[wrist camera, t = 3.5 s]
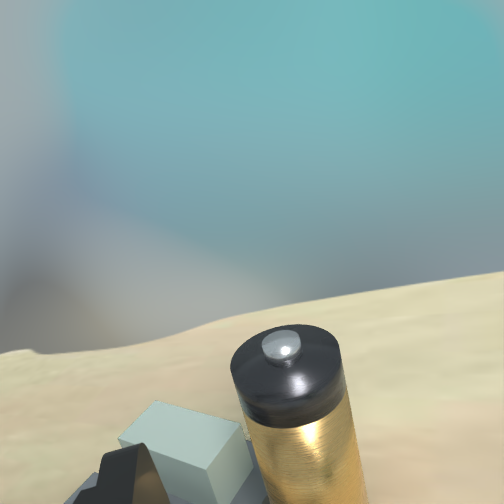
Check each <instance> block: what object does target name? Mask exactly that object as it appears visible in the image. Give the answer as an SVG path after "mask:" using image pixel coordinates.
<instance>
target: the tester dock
mask: <svg viewBox="0 0 504 504" xmlns="http://www.w3.org/2000/svg"><path fill="white" fill-rule="evenodd" d="M118 440H119V442H120V444H121V447H122V448H125V447H128V446H132V445H135V444H138V443H144V444H145V445H146V446H147V448H148V450H149V452H150V455H151V457H152V460H153V462H154V464H155V467H156V469H157V471H158V474H159V476H160V479H161V481H162V483H163V486H164V488H165V490H166V493H167V495H168V498H169V501H170V504H270V501H269V498H268V495H267V491H266V488H265V485H264V481H263V478H262V474H261V471H260V468H259V464H258V461H257V458H256V454H255V451H254V448H253V444H252V442H251V441H248V440H245V437H244V433H243V430H242V427H241V424H240V423H236V422H233V421H229V420H225V419H222V418H218V417H214V416H211V415H207V414H203V413H200V412H196V411H192V410H189V409H185V408H181V407H178V406H174V405H170V404H167V403H163V402H160V401H156V400H155V401H154V402H153V403H152V404H151V405H150V406H149V407H148V408H147V409H146V410H145V411H144V412H143V413H142V414H141V415H140V416H139V417H138V418H137V419H136V420H135V421H134V422H133V423H132V424H131V425H130V426H129V427H128V428H127V429H126V431H125V432H124V433H123V434H122V435H121V436H120V437H119V438H118ZM97 479H98V473H96V472H94V473H93V474H92V475H91V476H90V477H89V478H88V479H87V480H86V481H85V482H84V483H83V484H82V485H81V486H80V487H79V488H78V489H77V490H76V491H75V492H74V493H73V494H72V495H71V497H70V498H69V499H68V500H67V501H66V502H65V503H64V504H72V503H73V502H74V500H75V499H76V497H77V496H78V494H79V492H80V491H81V490H84V489H87V488H91V487H94V486H96V483H97Z"/></svg>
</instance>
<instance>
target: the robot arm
mask: <svg viewBox="0 0 504 504" xmlns="http://www.w3.org/2000/svg"><path fill="white" fill-rule="evenodd" d="M72 504H170V501H169V498H168V495H167V493H166V490H165V488H164V486H163V483H162V481H161V479H160V476H159V474H158V471H157V469H156V467H155V464H154V462H153V460H152V457H151V455H150V452H149V450H148V448H147V446H146V445H145V444H144V443H138V444H135V445H132V446H128V447H125V448H122V449H118V450H115V451H112V452H108V453H105V454H104V455H103V457H102V460H101V464H100V469H99V474H98V479H97V483H96V486H94V487H91V488H87V489H84V490H81V491H80V492H79V494H78V496H77V497H76V499H75V500H74V502H73V503H72Z"/></svg>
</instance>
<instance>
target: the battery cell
mask: <svg viewBox="0 0 504 504" xmlns="http://www.w3.org/2000/svg"><path fill="white" fill-rule="evenodd" d="M230 369H231V373H232V377H233V380H234V384H235V387H236V390H237V394H238V397H239V400H240V404H241V407H242V411H243V414H244V417H245V421H246V424H247V427H248V431H249V434H250V437H251V441H252V444H253V448H254V451H255V454H256V458H257V461H258V464H259V468H260V471H261V474H262V478H263V481H264V485H265V488H266V491H267V495H268V498H269V501H270V504H369V503H368V498H367V492H366V487H365V482H364V477H363V471H362V466H361V461H360V455H359V450H358V445H357V439H356V434H355V429H354V423H353V418H352V413H351V407H350V402H349V397H348V391H347V386H346V381H345V375H344V370H343V365H342V359H341V354H340V349H339V344H338V342H337V340H336V339H335V337H334V336H333V335H332V334H331V333H329V332H328V331H326V330H324V329H322V328H319V327H315V326H311V325H302V324H295V325H285V326H279V327H275V328H272V329H269V330H266V331H263V332H261V333H259V334H257V335H255V336H253V337H251V338H250V339H248V340H247V341H246V342H245V343H243V344H242V345H241V346H240V347H239V348H238V349H237V351H236V352H235V354H234V355H233V357H232V360H231V364H230Z"/></svg>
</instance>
